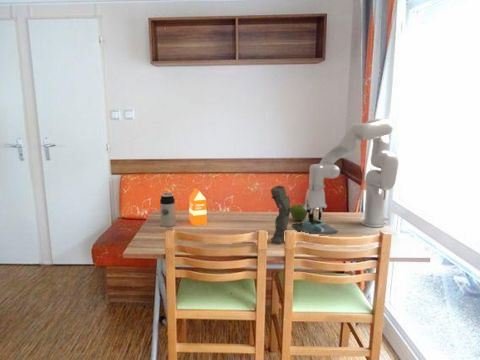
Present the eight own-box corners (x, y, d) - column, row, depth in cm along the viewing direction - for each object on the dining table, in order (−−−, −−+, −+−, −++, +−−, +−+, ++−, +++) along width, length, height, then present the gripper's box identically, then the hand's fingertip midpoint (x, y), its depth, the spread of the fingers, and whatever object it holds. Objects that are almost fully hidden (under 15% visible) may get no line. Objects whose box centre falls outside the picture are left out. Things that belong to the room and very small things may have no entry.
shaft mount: (319, 223, 209) (320, 215, 209) (337, 233, 193) (338, 225, 192) (291, 226, 204) (292, 218, 203) (307, 236, 187) (307, 228, 186)
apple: (305, 217, 220) (306, 201, 218) (309, 222, 210) (310, 206, 208) (288, 217, 220) (288, 201, 218) (291, 223, 210) (291, 206, 208)
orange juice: (193, 225, 204) (193, 191, 200) (189, 221, 212) (188, 188, 208) (206, 224, 208) (206, 190, 204) (202, 219, 215) (201, 187, 212)
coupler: (315, 222, 201) (316, 205, 199) (320, 225, 196) (321, 207, 194) (308, 223, 199) (309, 206, 198) (313, 226, 195) (314, 208, 193)
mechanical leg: (284, 232, 191) (278, 180, 180) (296, 235, 186) (290, 182, 175) (270, 245, 181) (262, 191, 170) (282, 249, 177) (275, 194, 166)
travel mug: (167, 222, 211) (165, 192, 207) (178, 224, 207) (177, 193, 204) (158, 226, 204) (156, 195, 200) (169, 228, 200) (168, 196, 197)
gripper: (326, 184, 200) (324, 216, 203) (298, 186, 194) (297, 219, 198) (333, 187, 193) (331, 220, 196) (305, 189, 187) (304, 223, 191)
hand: (314, 219), depth 197 cm, fingers closed on coupler, 4 cm apart
